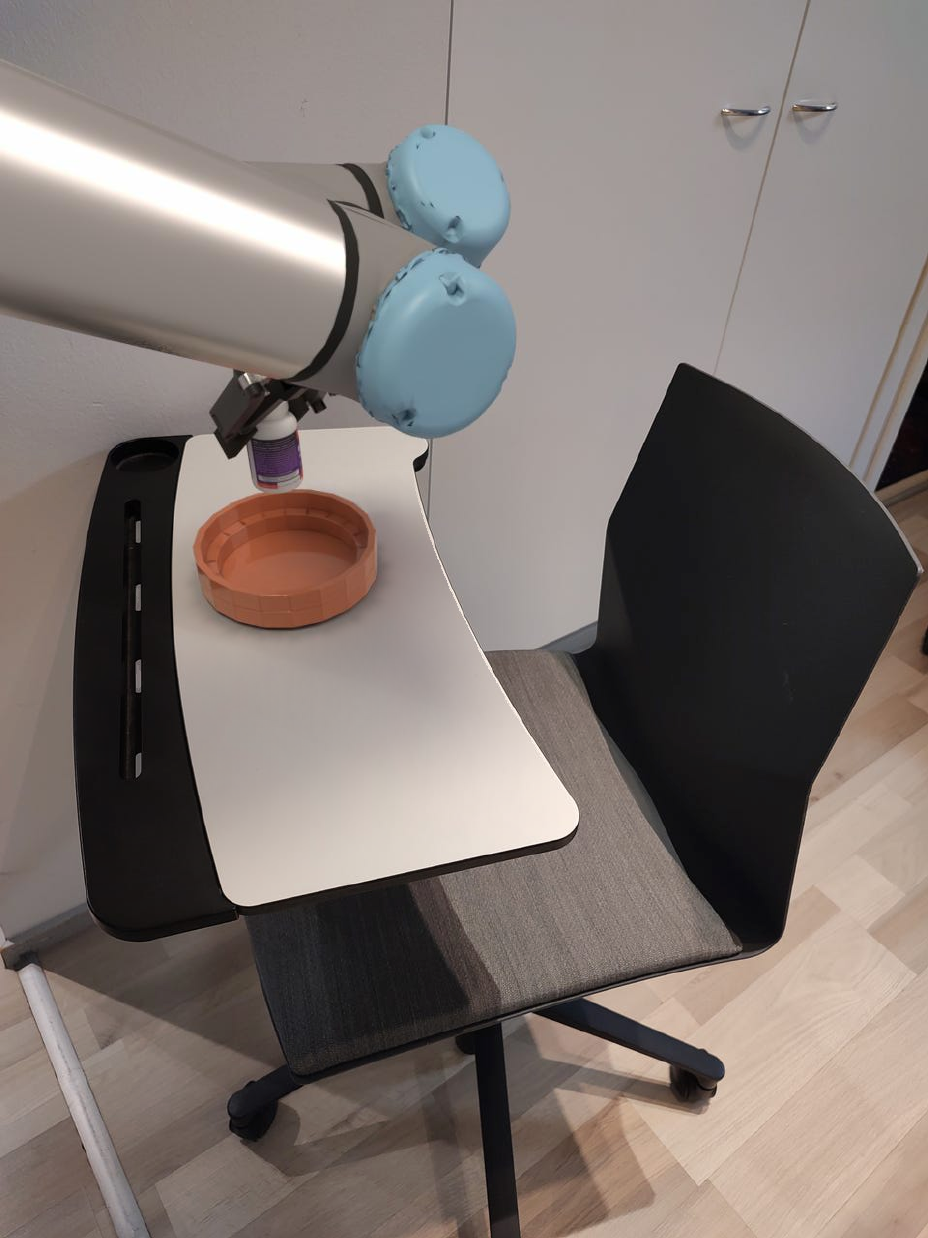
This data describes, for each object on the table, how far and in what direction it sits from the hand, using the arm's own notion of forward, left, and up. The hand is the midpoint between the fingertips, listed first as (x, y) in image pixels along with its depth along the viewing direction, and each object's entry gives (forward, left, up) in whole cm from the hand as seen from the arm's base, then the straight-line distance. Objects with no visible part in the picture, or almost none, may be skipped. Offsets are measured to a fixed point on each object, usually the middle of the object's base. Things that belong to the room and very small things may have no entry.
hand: (249, 434), depth 81 cm
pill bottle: (+2, -3, -3) cm, 5 cm away
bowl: (+2, -3, -15) cm, 15 cm away
